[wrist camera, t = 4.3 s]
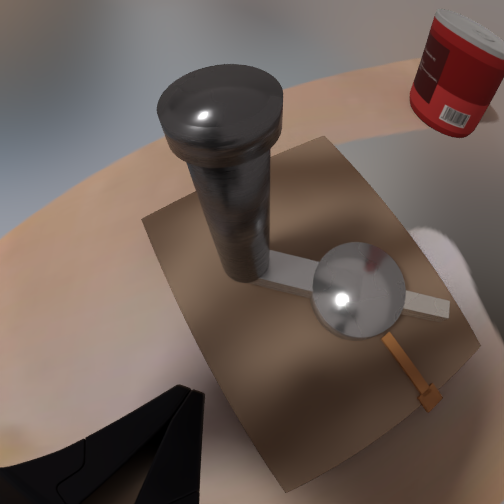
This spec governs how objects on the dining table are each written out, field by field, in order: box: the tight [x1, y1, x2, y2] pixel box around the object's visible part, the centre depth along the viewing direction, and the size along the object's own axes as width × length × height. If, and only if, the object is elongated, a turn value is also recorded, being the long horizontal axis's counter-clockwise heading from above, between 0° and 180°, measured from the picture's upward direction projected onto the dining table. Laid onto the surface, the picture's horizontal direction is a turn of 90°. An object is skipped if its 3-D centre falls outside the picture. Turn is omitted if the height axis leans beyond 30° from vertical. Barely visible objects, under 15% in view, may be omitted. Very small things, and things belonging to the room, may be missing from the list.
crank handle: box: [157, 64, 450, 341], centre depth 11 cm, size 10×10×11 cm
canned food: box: [410, 9, 504, 138], centre depth 19 cm, size 8×8×11 cm
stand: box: [142, 136, 481, 493], centre depth 17 cm, size 19×14×2 cm
